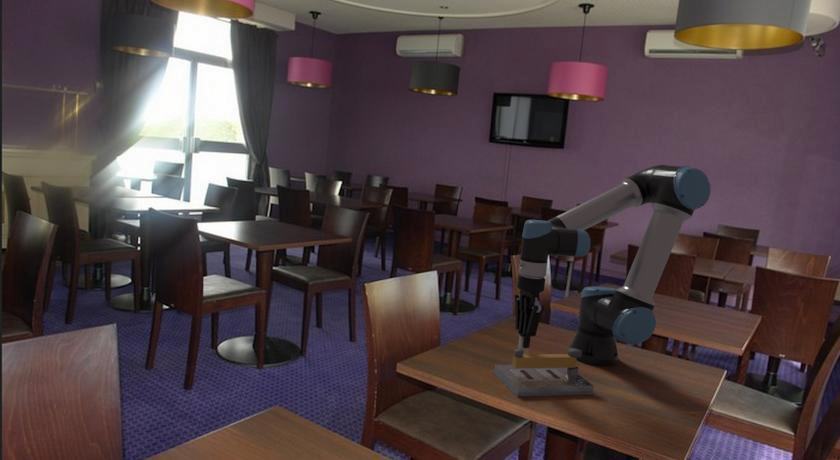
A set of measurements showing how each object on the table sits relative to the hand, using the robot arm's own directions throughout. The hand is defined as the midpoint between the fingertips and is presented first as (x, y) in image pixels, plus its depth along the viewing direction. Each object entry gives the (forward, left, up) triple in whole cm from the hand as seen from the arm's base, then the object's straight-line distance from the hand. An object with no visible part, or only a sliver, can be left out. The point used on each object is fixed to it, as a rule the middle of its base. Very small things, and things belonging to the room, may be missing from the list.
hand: (522, 357), depth 169 cm
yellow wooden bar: (-5, +6, 0) cm, 7 cm away
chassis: (-4, +6, -5) cm, 9 cm away
